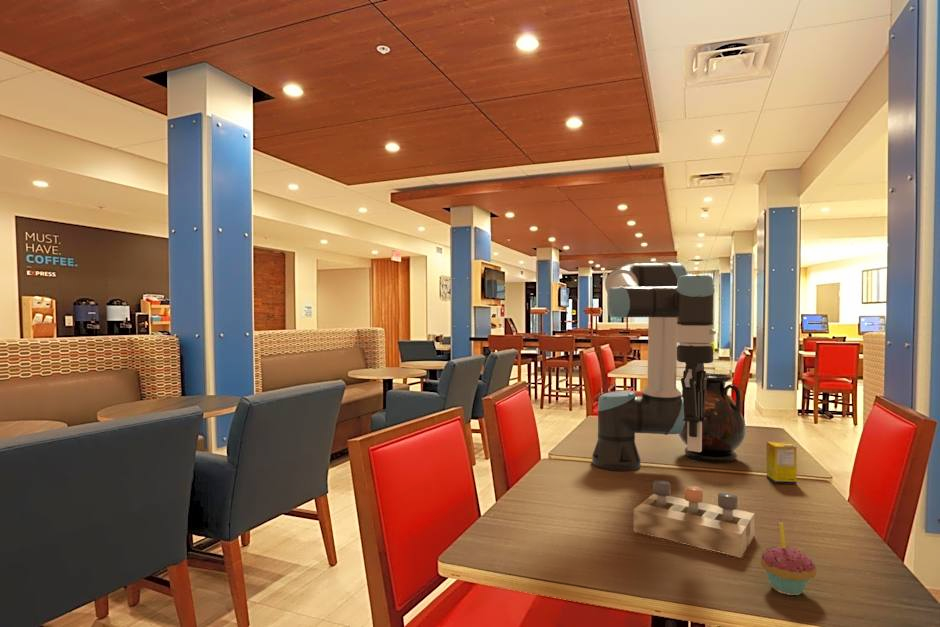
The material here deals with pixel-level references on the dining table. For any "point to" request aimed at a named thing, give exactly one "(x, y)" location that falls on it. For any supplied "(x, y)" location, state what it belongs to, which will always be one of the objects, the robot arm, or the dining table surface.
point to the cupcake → (787, 567)
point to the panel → (695, 524)
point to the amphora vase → (719, 422)
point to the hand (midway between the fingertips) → (694, 450)
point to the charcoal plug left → (661, 491)
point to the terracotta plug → (693, 497)
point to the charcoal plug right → (728, 504)
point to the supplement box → (781, 463)
